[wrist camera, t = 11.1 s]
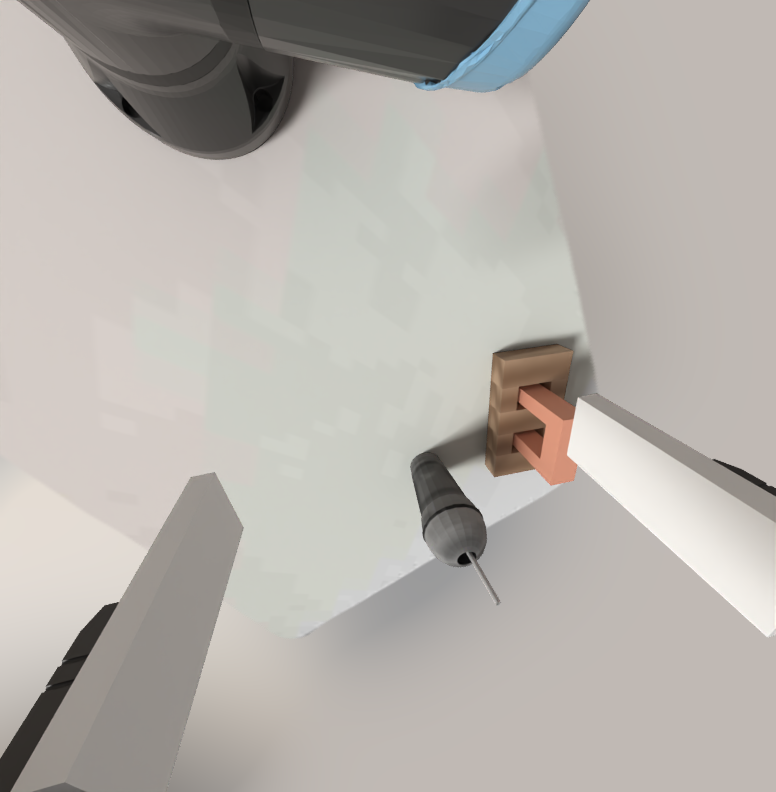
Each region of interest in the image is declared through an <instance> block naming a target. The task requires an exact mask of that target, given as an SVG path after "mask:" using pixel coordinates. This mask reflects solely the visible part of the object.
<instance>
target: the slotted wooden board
mask: <svg viewBox="0 0 776 792" xmlns="http://www.w3.org/2000/svg"><path fill="white" fill-rule="evenodd" d="M572 355H573V351H572V350H570V349H568V348H565V347H563V346H561V345H558V344H554V345H547V346H540V347H534V348H527V349H520V350H513V351H506V352H499V353H493V360H492V374H491V388H490V402H489V416H488V430H487V444H486V458H485V465H486V466H487V468H488V469H489V470H490V472H491V473H492V475H493V476H494V477H498V476H503V475H508V474H513V473H518V472H523V471H528V470H533V469H535V468H534V467H533V466H532V465H531V464H530V463H529V462H528V461H527V459H526V458H525V457H524V456H523V455H522V454H521V453H520V452H519V451H518V450H517V449H516V448H515V447H514V446H513V445H512V443H513V434H514V433H516V432H522V431H528V430H533V429H534V430H535V431H536V432H537V433H538V434H539V435H541V436H542V437H543V438H544V434H545V428H546V424H545V423H543V422H542V421H541V420H540V419H538V418H537V417H536V416H535V415H533V414H532V413H531V412H530V411H529V410H527V409H526V408H525V407H524V406H522V405H521V404H520V403H519V402H518V401H517V400H518V391H519V386H526V385H532V384H538V383H539V384H540V385H542V386H543V387H545V388H546V389H548V390H549V391H551V392H553V393H554V394H556V395H557V396H559V397H560V398H562V399H563V400H564V396H565V391H566V386H567V381H568V376H569V371H570V365H571V360H572Z"/></svg>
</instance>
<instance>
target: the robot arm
mask: <svg viewBox="0 0 776 792" xmlns="http://www.w3.org/2000/svg"><path fill="white" fill-rule="evenodd" d="M17 1H19V2H20V3H21V4H22V5H24V6H25V7H26V8H27V9H29V10H30V11H31V12H32V13H34V14H35V15H36V16H38V17H39V18H40V19H41V20H43V21H44V22H45V23H46V24H48V25H49V26H50V27H52V28H53V29H54V30H55V31H57V32H58V33H59V34H60V35H62V36H63V37H64V39H65V40H66V42H67V43H68V45H69V46H70V48H71V50H72V51H73V53H74V54H75V56H76V57H77V59H78V60H79V62H80V63H81V65H82V66H83V68H84V69H85V71H86V72H87V74H88V75H89V76H90V78H91V79H92V81H93V82H94V83H95V84H96V86H97V87H98V88H99V89H100V90H101V92H102V93H103V94H104V95H105V96H106V97H107V98H108V99H109V101H110V102H111V103H112V104H113V105H114V106H115V107H116V108H117V109H118V110H119V111H120V112H121V113H123V114H124V115H125V116H126V117H127V118H128V119H129V120H131V121H132V122H133V123H134V124H136V125H137V126H138V127H140V128H141V129H142V130H144V131H145V132H147V133H148V134H150V135H152V136H153V137H155V138H156V139H158V140H159V141H161V142H162V143H164V144H166V145H168V146H170V147H171V148H173V149H176V150H178V151H180V152H183V153H185V154H188V155H191V156H195V157H199V158H204V159H213V160H223V159H231V158H236V157H239V156H242V155H245V154H247V153H249V152H251V151H253V150H255V149H256V148H258V147H259V146H260V145H262V144H263V143H264V142H265V141H266V140H267V139H268V138H269V137H270V136H271V135H272V133H273V132H274V131H275V129H276V128H277V127H278V125H279V123H280V121H281V120H282V117H283V115H284V113H285V111H286V108H287V105H288V102H289V99H290V94H291V89H292V83H293V74H294V57H297V58H302V59H306V60H311V61H316V62H320V63H325V64H329V65H334V66H339V67H343V68H348V69H353V70H357V71H362V72H367V73H371V74H376V75H380V76H385V77H390V78H394V79H399V80H404V81H408V82H413V83H414V84H415V85H416V87H417V88H419V89H423V90H427V91H430V90H437V89H441V88H444V87H446V88H453V89H459V90H466V91H473V92H490V91H495V90H498V89H500V88H501V87H503V86H504V85H505V84H507V83H511V82H513V81H514V80H516V79H518V78H520V77H522V76H523V75H525V74H526V73H527V72H528V71H529V70H531V69H532V68H533V67H534V66H535V65H536V64H537V63H538V62H539V61H540V60H541V59H542V58H543V57H544V56H545V55H546V54H547V53H548V52H549V51H550V50H551V49H552V48H553V47H554V46H555V45H556V43H557V42H558V41H559V40H560V39H561V38H562V36H563V35H564V34H565V33H566V32H567V30H568V29H569V28H570V27H571V25H572V24H573V23H574V21H575V20H576V19H577V18H578V16H579V15H580V13H581V12H582V11H583V9H584V8H585V7H586V5H587V4H588V2H589V1H590V0H17ZM567 456H568V457H569V458H571V459H572V460H573V461H574V462H575V463H576V464H577V465H578V466H580V468H582V469H583V470H584V471H585V472H586V473H587V474H588V475H589V476H590V477H592V478H593V479H594V480H595V481H596V482H597V483H598V484H599V485H600V486H602V488H604V489H605V490H606V491H607V492H608V493H609V494H610V495H611V496H612V497H614V498H615V499H616V500H617V501H618V502H619V503H620V504H621V505H622V506H623V507H624V508H626V509H627V510H628V511H629V512H630V513H631V514H632V515H634V517H636V518H637V519H638V520H639V521H640V522H641V523H642V524H643V525H644V526H645V527H647V528H648V529H649V530H650V531H651V532H652V533H653V534H654V535H655V536H656V537H658V538H659V539H660V540H661V541H662V542H663V543H664V544H665V545H666V546H668V547H669V548H670V549H671V550H672V551H673V552H674V553H675V554H676V555H677V556H678V557H680V558H681V559H682V560H683V561H684V562H685V563H686V564H687V565H688V566H690V567H691V568H692V569H693V570H694V571H695V572H696V573H697V574H698V575H699V576H700V577H702V578H703V579H704V580H705V581H706V582H707V583H708V584H709V585H710V586H711V587H713V588H714V589H715V590H716V591H717V592H718V593H719V594H720V595H721V596H722V597H724V598H725V599H726V600H727V601H728V602H729V603H730V604H731V605H732V606H733V607H735V608H736V609H737V610H738V611H739V612H740V613H741V614H742V615H743V616H744V617H746V618H747V619H748V620H749V621H750V622H751V623H752V624H753V625H754V626H755V627H757V628H758V629H759V630H760V631H761V632H762V633H763V634H764V635H766V636H767V637H770V636H774V635H776V488H774V487H772V486H767V485H766V483H765V482H763V481H762V480H760V479H758V478H756V477H754V476H753V475H751V474H749V473H747V472H746V471H744V470H742V469H739V468H737V467H734V466H731V465H729V464H726V463H724V462H721V461H718V460H715V459H713V460H711V459H709V458H708V457H706V456H705V455H703V454H701V453H699V452H698V451H696V450H694V449H692V448H691V447H689V446H687V445H685V444H684V443H682V442H680V441H679V440H677V439H675V438H673V437H672V436H670V435H668V434H666V433H665V432H663V431H661V430H659V429H658V428H656V427H654V426H653V425H651V424H649V423H647V422H645V421H644V420H642V419H640V418H639V417H637V416H635V415H634V414H632V413H630V412H628V411H626V410H625V409H623V408H621V407H620V406H618V405H616V404H614V403H613V402H611V401H609V400H608V399H606V398H604V397H602V396H600V395H599V394H597V393H596V394H591V395H586V396H581V397H578V399H577V404H576V410H575V415H574V420H573V425H572V430H571V436H570V441H569V446H568V451H567ZM242 532H243V526H242V524H241V522H240V520H239V518H238V516H237V514H236V512H235V510H234V508H233V506H232V504H231V502H230V501H229V499H228V497H227V495H226V493H225V491H224V489H223V487H222V485H221V483H220V481H219V479H218V477H217V475H216V474H215V472H214V473H209V474H204V475H199V476H195V477H191V478H190V480H189V482H188V483H187V485H186V487H185V489H184V490H183V492H182V494H181V495H180V497H179V499H178V501H177V502H176V504H175V506H174V508H173V509H172V511H171V513H170V515H169V516H168V518H167V520H166V522H165V523H164V525H163V527H162V529H161V530H160V532H159V534H158V536H157V537H156V539H155V541H154V543H153V544H152V546H151V548H150V549H149V551H148V553H147V555H146V556H145V558H144V560H143V562H142V563H141V565H140V567H139V569H138V571H137V572H136V574H135V576H134V578H133V579H132V581H131V583H130V584H129V586H128V588H127V590H126V592H125V593H124V595H123V597H122V598H121V600H120V602H117V603H113V604H109V605H105V606H104V607H103V608H102V609H101V610H100V611H99V612H98V613H97V614H96V615H95V616H94V618H93V619H92V620H91V621H90V622H89V623H88V624H87V625H86V626H85V627H84V628H83V630H81V631H80V633H79V635H78V636H77V638H76V639H75V641H74V643H73V644H72V646H71V647H70V649H69V650H68V652H67V654H66V655H65V657H64V658H63V660H62V665H61V666H60V667H58V668H57V670H56V671H55V673H54V674H53V676H52V677H51V679H50V681H49V682H48V684H47V685H46V691H45V692H44V693H41V695H40V697H39V698H38V700H37V701H36V703H35V704H34V706H33V708H32V709H31V711H30V712H29V714H28V716H27V717H26V719H25V721H24V722H23V723H22V725H21V727H20V728H19V730H18V732H17V733H16V735H15V736H14V738H13V739H12V741H11V743H10V744H9V746H8V747H7V749H6V751H5V752H4V754H3V755H2V757H1V758H0V792H167V788H168V785H169V782H170V778H171V775H172V771H173V768H174V764H175V761H176V758H177V754H178V751H179V747H180V744H181V740H182V737H183V733H184V730H185V726H186V723H187V720H188V716H189V713H190V710H191V706H192V703H193V699H194V696H195V693H196V689H197V686H198V682H199V679H200V675H201V672H202V668H203V665H204V662H205V658H206V655H207V651H208V648H209V645H210V641H211V638H212V634H213V631H214V627H215V624H216V621H217V617H218V614H219V610H220V607H221V603H222V600H223V597H224V593H225V590H226V586H227V583H228V580H229V576H230V573H231V569H232V566H233V562H234V559H235V556H236V552H237V549H238V545H239V542H240V538H241V535H242Z"/></svg>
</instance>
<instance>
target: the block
mask: <svg viewBox="0 0 776 792" xmlns="http://www.w3.org/2000/svg"><path fill="white" fill-rule="evenodd" d="M517 401H518V402H519V403H520V404H521V405H522V406H524V407H525V408H526V409H527V410H529V411H530V412H531V413H532V414H533V415H535V416H536V417H537V418H538V419H540V420H541V421H542V422H543V423H545V424H546V428H545V434H544V438H543V437H542V436H541V435H539V434H538V433H537V432H536V431H535V430H534V429H533V430H528V431H522V432H516V433H514V434H513V443H512V445H513V446H514V447H515V448H516V449H517V450H518V451H519V452H520V453H521V454H522V455H523V456H524V457H525V458H526V459H527V461H528V462H529V463H530V464H531V465H532V466H533V467H534V468H535V469H536V470H537V471H538V472H539V473H540V474H541V476H542V477H543V478H544V479H545V480H546V481H547V482H548V483H549V484H550V485H555V484H560V483H565V482H570V481H574V477H575V473H576V469H577V464H576V463H575V462H574V461H573V460H572V459H571V458H569V457H568V456H567V451H568V446H569V441H570V436H571V430H572V425H573V420H574V415H575V410H576V407H574V406H573V405H571V404H570V403H568V402H566V401H565V400H563V399H562V398H560V397H559V396H557V395H556V394H554V393H553V392H551V391H549V390H548V389H546V388H545V387H543V386H542V385H540V384H539V383H538V384H532V385H526V386H519V391H518V400H517Z"/></svg>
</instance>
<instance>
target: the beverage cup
mask: <svg viewBox="0 0 776 792" xmlns="http://www.w3.org/2000/svg"><path fill="white" fill-rule="evenodd" d="M410 468H411V472H412V479H413V483H414V487H415V491H416V495H417V500H418V504H419V508H420V512H421V516H422V518H421V521H422V529H423V538H424V541H425V542H426V543H427V545H428V547H429V549H430V550H431V552H432V553H433V554H434V555H435V556H436V558H437V559H439V560H440V561H441V562H443V563H445V564H447V565H449V566H453V567H466V566H469V565H471V564H473V565H474V567H475V569H476V571H477V573H478V574H479V576H480V578H481V579H482V581H483V583H484V585H485V587H486V588H487V590H488V592H489V593H490V595H491V597H492V599H493V601H494V602H495V604H496V605H499V604H500V603H501V602H500V600H499V599H498V597H497V595H496V593H495V592H494V590H493V588H492V586H491V585H490V583H489V581H488V580H487V578H486V576H485V575H484V573H483V571H482V569H481V568H480V566H479V564H478V563H477V560H478V559H479V558H480V556H481V555H482V554H483V551H484V549H485V546H486V542H487V534H486V526H485V523H484V521H483V516H482V514H481V512H480V511H479V509H477V508H476V507H475V506H474V504H473V503H472V502H471V501H470V500H469V499H468V498H467V497H466V496H465V495H464V493H463V492H462V490H461V489H460V487H459V486H458V484H457V483H456V482H455V480H454V479H453V477H452V476H451V474H450V473H449V471H448V470H447V469H446V467H445V466H444V464H443V463H442V462H441V461H440V459H439V458H438V456H436V455H435V454H433V453H422V454H420V455H418V456H416V457H415V458H414V459H413V461H412V463H411V466H410Z"/></svg>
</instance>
